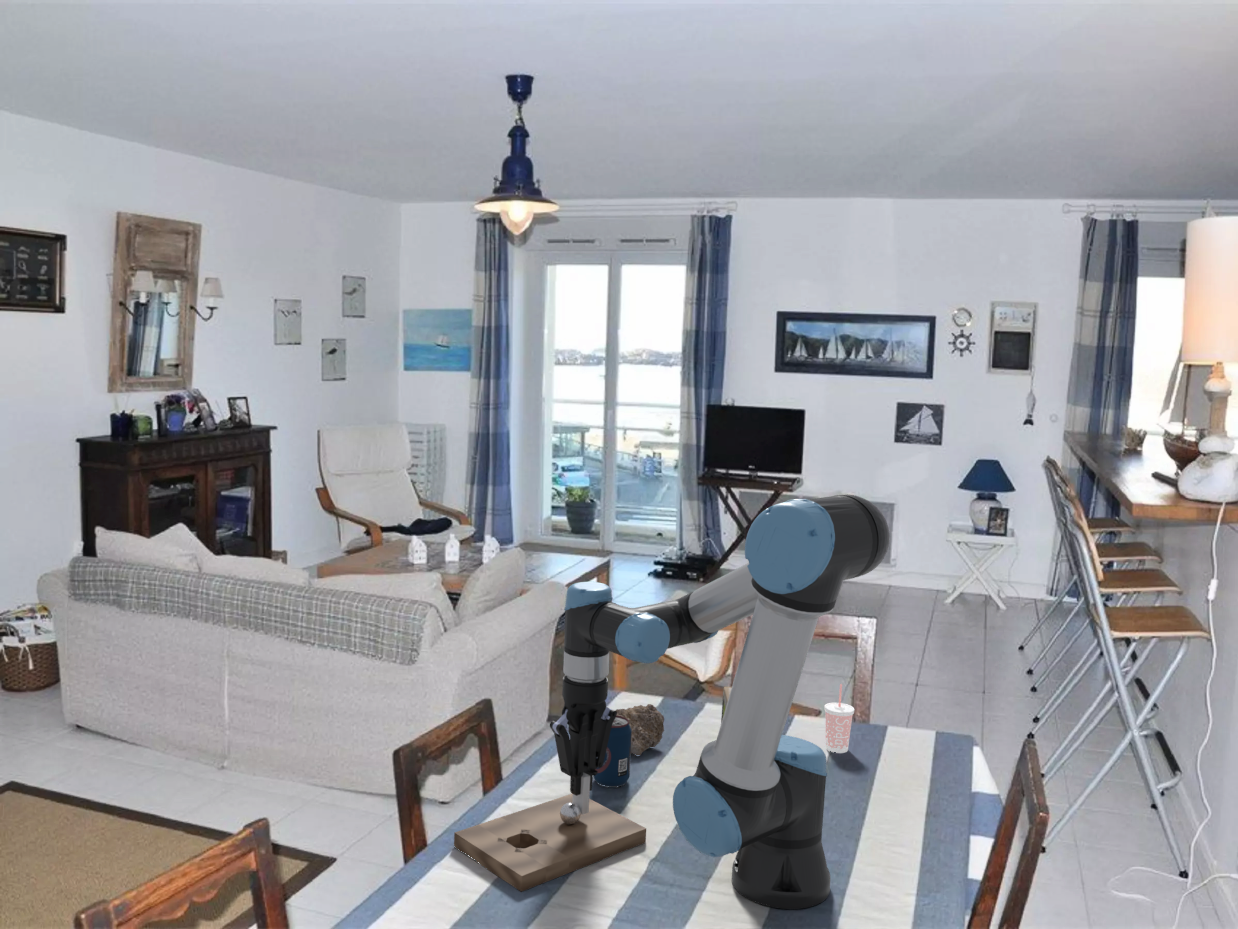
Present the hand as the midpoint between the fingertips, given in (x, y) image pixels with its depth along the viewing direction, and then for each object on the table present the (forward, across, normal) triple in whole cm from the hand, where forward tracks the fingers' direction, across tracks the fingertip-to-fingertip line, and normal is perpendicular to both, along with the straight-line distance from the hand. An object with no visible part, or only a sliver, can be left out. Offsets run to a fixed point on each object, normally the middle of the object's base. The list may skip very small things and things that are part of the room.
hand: (580, 810), depth 183 cm
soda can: (+5, -18, -13) cm, 23 cm away
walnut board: (+4, +6, +1) cm, 8 cm away
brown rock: (+5, -33, -23) cm, 40 cm away
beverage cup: (+5, -68, +2) cm, 68 cm away
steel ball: (0, +2, 0) cm, 2 cm away
